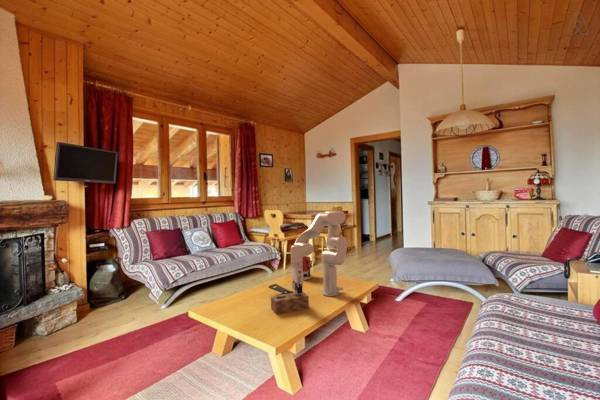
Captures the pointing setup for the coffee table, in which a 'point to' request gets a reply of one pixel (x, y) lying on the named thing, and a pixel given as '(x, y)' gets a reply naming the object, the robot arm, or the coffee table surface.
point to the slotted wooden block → (289, 302)
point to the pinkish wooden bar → (295, 289)
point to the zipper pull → (280, 289)
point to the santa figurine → (306, 267)
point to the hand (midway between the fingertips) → (297, 290)
